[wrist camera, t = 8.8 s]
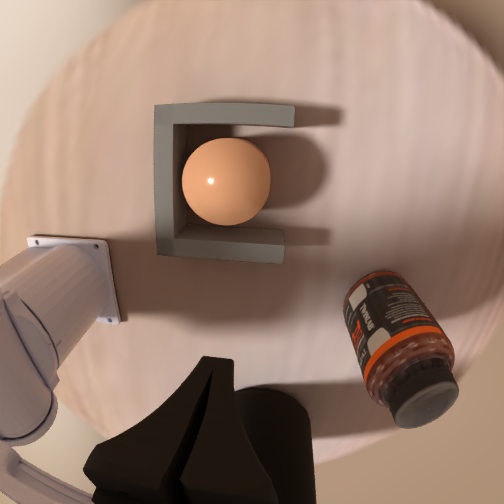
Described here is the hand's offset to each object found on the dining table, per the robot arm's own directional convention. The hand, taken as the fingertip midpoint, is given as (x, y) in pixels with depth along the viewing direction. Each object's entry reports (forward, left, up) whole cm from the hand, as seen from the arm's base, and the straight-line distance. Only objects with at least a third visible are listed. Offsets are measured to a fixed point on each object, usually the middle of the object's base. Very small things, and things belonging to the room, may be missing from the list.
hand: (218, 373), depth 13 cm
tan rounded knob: (-1, +7, -11) cm, 13 cm away
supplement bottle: (+11, -2, -11) cm, 15 cm away
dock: (-1, +7, -10) cm, 13 cm away
